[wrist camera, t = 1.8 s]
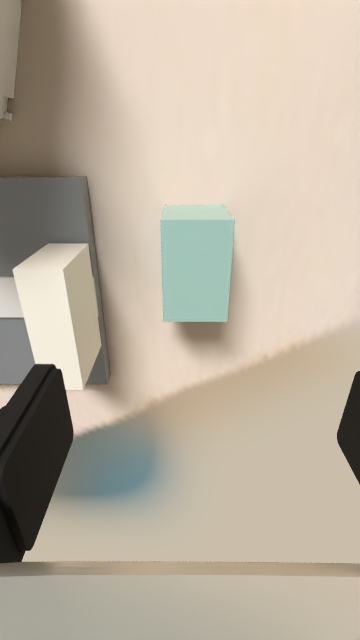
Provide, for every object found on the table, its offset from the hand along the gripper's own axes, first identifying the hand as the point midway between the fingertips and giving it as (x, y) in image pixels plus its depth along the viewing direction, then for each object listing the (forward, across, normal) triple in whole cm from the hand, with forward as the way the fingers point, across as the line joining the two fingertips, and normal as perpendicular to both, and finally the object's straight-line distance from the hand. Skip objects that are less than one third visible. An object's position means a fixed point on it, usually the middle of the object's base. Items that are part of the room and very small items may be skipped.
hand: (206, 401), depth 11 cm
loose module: (+18, 0, 0) cm, 18 cm away
